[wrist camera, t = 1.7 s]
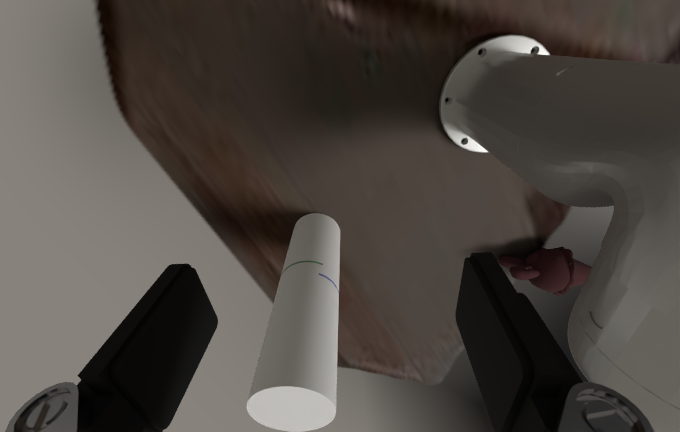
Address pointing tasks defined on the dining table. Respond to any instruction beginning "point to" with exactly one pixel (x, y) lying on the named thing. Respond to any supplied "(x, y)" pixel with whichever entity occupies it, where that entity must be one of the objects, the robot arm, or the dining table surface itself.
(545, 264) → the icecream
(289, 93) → the dining table surface
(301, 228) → the cylindrical container
